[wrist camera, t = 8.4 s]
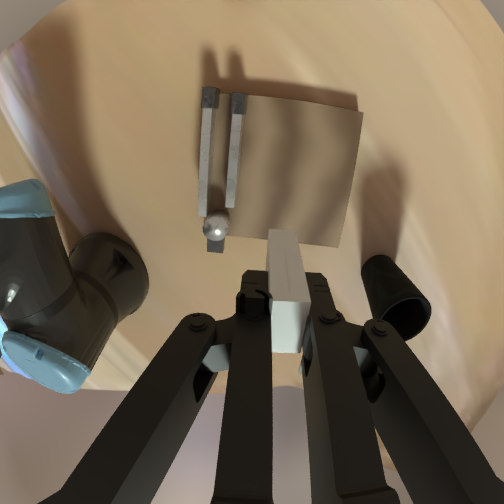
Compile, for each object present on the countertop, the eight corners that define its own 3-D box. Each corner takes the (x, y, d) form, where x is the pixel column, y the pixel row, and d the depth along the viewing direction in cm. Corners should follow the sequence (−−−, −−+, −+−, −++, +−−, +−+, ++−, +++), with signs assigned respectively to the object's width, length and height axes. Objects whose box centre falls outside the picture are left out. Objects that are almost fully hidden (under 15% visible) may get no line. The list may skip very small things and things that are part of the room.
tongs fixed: (201, 242, 38) (196, 252, 36) (208, 89, 29) (202, 87, 26) (229, 245, 38) (225, 255, 36) (241, 90, 29) (238, 88, 26)
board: (206, 227, 40) (203, 232, 38) (213, 94, 31) (210, 93, 29) (335, 241, 39) (338, 247, 38) (358, 112, 31) (363, 112, 29)
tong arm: (227, 199, 35) (223, 207, 33) (235, 94, 29) (232, 92, 26) (238, 200, 35) (235, 208, 33) (248, 94, 29) (245, 93, 26)
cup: (355, 250, 40) (381, 300, 29) (402, 246, 39) (437, 292, 28) (352, 293, 43) (372, 348, 33) (396, 288, 42) (423, 338, 32)
